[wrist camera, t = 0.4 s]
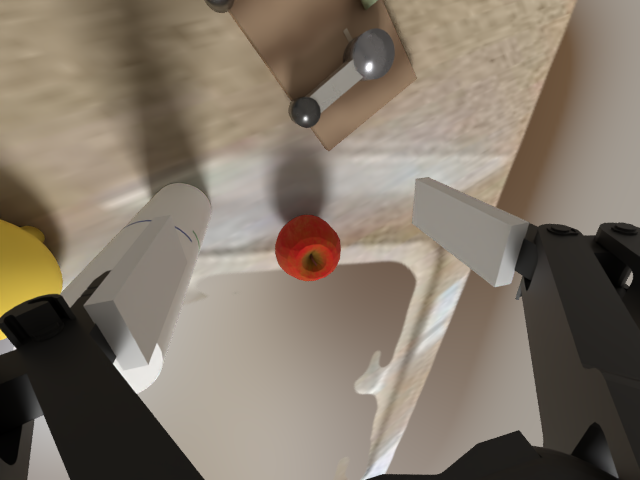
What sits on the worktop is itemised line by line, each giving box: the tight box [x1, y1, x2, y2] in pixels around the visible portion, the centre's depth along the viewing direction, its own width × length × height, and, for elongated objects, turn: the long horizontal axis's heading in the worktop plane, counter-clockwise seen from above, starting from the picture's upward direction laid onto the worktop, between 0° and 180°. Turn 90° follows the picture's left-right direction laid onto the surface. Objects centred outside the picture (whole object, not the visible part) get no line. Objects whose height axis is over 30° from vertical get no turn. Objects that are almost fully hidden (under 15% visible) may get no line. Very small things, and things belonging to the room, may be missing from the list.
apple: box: [275, 215, 341, 281], centre depth 38 cm, size 9×8×11 cm
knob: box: [289, 28, 395, 128], centre depth 31 cm, size 13×4×4 cm, turn 126°
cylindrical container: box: [13, 183, 212, 394], centre depth 27 cm, size 7×7×25 cm
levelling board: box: [228, 0, 417, 151], centre depth 30 cm, size 24×14×4 cm, turn 36°
